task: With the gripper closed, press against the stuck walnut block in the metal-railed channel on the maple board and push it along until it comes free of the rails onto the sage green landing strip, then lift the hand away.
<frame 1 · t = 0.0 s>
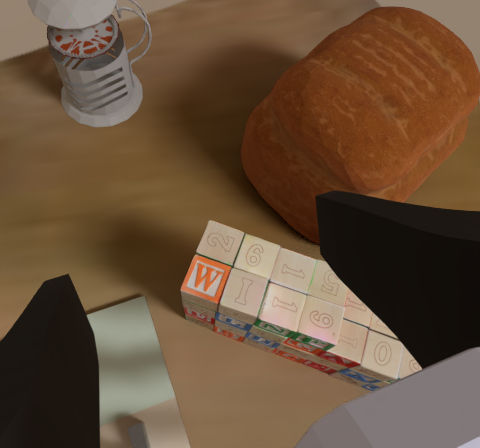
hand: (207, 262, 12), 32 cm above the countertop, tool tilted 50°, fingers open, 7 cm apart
stack of blocks: (293, 329, 44), on the countertop
bread: (337, 165, 53), on the countertop
french press: (109, 93, 54), on the countertop
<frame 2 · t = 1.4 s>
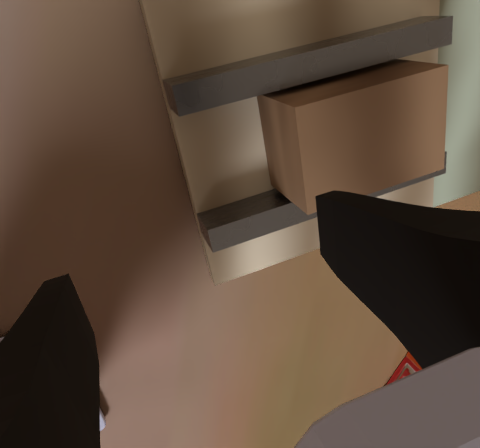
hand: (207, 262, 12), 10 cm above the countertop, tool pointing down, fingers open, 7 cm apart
stack of blocks: (438, 344, 34), on the countertop
walnut block: (350, 130, 20), point 3 cm above the countertop, slide at 0.0 cm
chute board: (394, 97, 23), on the countertop
channel rails: (320, 131, 21), on the chute board, point 1 cm above the countertop
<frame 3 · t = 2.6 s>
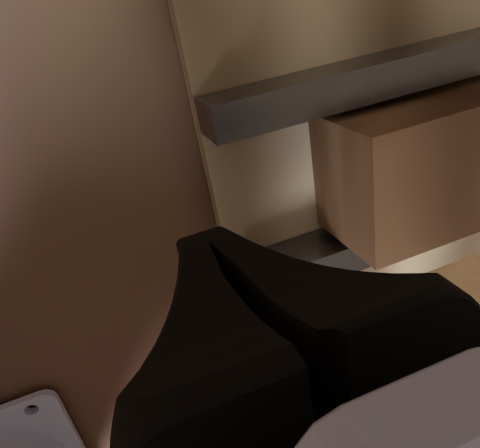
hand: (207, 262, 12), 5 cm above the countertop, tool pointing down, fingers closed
walnut block: (424, 161, 16), point 3 cm above the countertop, slide at 0.0 cm
chute board: (464, 117, 19), on the countertop
channel rails: (383, 161, 17), on the chute board, point 1 cm above the countertop
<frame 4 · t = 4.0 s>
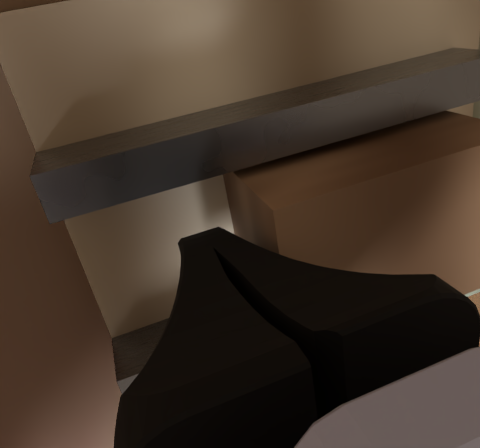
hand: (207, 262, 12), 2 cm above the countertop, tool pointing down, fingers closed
walnut block: (363, 219, 13), point 3 cm above the countertop, slide at 0.7 cm, touching gripper
chute board: (409, 159, 16), on the countertop
channel rails: (297, 222, 14), on the chute board, point 1 cm above the countertop
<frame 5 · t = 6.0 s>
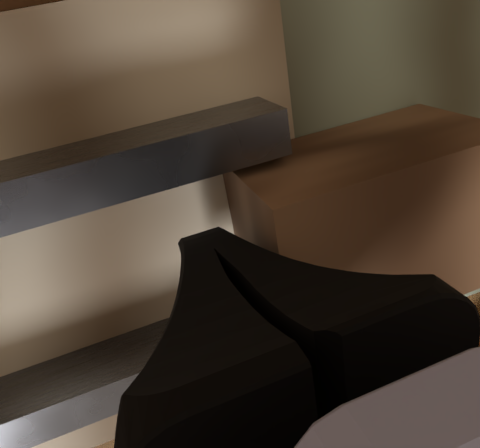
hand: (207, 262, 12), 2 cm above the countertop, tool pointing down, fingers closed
walnut block: (363, 219, 13), point 3 cm above the countertop, slide at 7.5 cm, touching gripper
chute board: (238, 212, 15), on the countertop
channel rails: (73, 294, 12), on the chute board, point 1 cm above the countertop
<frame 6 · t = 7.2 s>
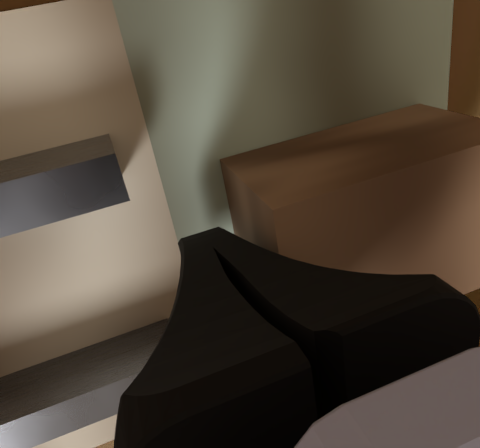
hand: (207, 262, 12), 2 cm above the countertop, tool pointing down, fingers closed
walnut block: (363, 219, 13), point 3 cm above the countertop, slide at 11.8 cm, touching gripper
chute board: (112, 251, 14), on the countertop
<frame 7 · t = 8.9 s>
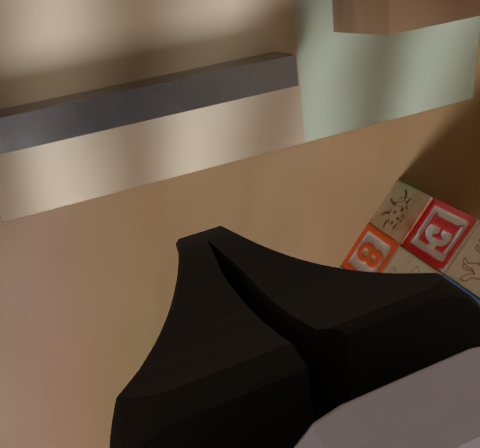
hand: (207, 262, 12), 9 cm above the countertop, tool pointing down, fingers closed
stack of blocks: (335, 332, 29), on the countertop
channel rails: (111, 11, 16), on the chute board, point 1 cm above the countertop
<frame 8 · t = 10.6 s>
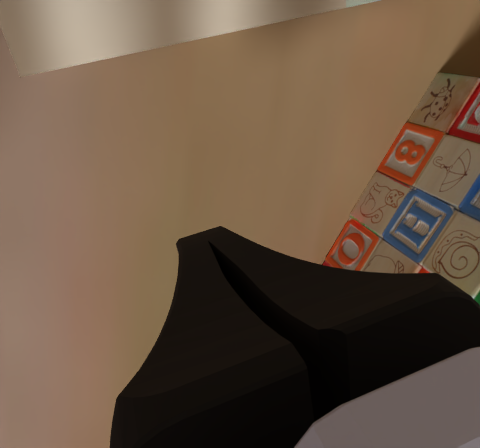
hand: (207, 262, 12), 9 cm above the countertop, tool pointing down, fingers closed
stack of blocks: (368, 250, 27), on the countertop
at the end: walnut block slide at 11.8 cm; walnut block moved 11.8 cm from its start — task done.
